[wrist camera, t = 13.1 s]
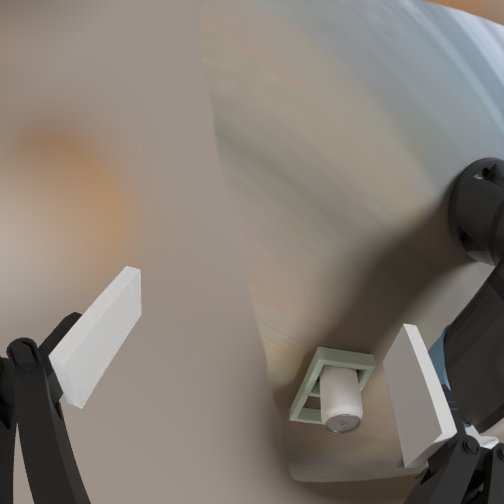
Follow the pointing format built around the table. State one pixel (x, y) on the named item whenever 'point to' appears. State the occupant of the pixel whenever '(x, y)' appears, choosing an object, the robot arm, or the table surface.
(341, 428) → the can
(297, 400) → the socket board
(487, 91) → the table surface
